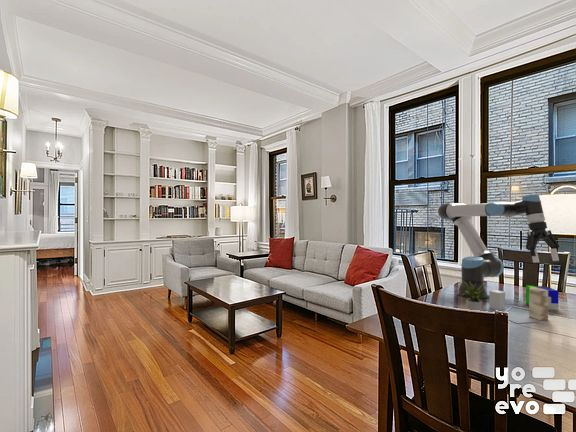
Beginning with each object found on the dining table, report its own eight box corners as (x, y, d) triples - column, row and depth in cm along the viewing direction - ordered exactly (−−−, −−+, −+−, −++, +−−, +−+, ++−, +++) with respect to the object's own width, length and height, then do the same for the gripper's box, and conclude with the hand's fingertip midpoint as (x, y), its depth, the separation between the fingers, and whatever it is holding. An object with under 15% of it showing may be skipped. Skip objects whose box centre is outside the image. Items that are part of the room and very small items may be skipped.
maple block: (537, 316, 150) (537, 287, 149) (548, 319, 145) (548, 290, 144) (529, 316, 149) (529, 288, 149) (539, 320, 144) (539, 290, 144)
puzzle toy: (558, 309, 159) (558, 290, 159) (536, 308, 161) (536, 290, 161) (546, 304, 169) (546, 286, 169) (525, 303, 171) (525, 285, 171)
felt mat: (521, 315, 150) (521, 315, 150) (539, 322, 142) (539, 321, 142) (500, 317, 149) (500, 316, 149) (517, 323, 140) (517, 323, 140)
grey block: (489, 307, 164) (489, 290, 163) (495, 306, 166) (495, 289, 166) (499, 310, 159) (499, 293, 159) (505, 309, 161) (505, 292, 161)
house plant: (449, 309, 161) (449, 278, 161) (468, 306, 166) (468, 276, 166) (474, 317, 148) (474, 284, 148) (494, 314, 153) (494, 281, 152)
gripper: (525, 221, 158) (535, 262, 154) (561, 220, 165) (571, 259, 160) (512, 224, 166) (521, 263, 161) (547, 222, 172) (556, 260, 168)
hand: (546, 261), depth 161 cm, fingers open, 13 cm apart
